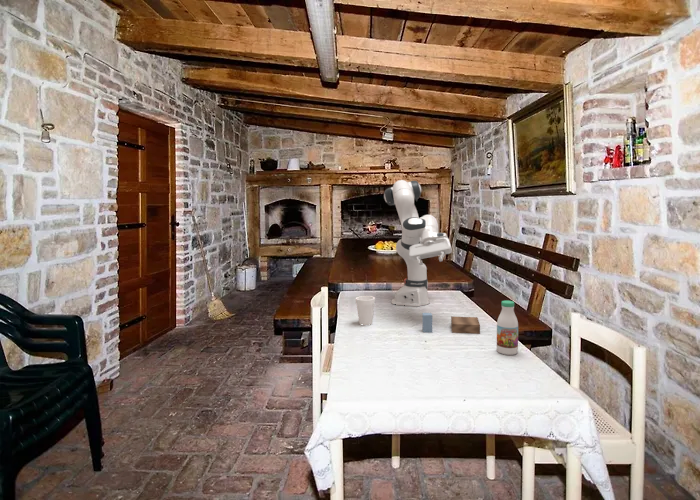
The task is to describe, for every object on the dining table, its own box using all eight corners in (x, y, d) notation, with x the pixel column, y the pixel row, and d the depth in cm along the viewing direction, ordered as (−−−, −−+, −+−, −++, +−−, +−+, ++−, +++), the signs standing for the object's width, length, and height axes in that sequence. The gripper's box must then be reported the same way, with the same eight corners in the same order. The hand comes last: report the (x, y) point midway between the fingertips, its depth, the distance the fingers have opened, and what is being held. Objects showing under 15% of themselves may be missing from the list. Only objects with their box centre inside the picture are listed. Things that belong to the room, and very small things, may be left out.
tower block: (422, 329, 179) (422, 312, 178) (431, 329, 179) (431, 312, 178) (423, 332, 175) (423, 315, 174) (432, 332, 175) (432, 315, 174)
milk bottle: (492, 348, 153) (493, 299, 151) (511, 347, 154) (512, 298, 152) (502, 356, 146) (503, 304, 143) (521, 354, 146) (522, 303, 144)
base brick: (452, 332, 174) (452, 324, 173) (451, 324, 185) (451, 316, 185) (479, 333, 171) (480, 325, 170) (477, 325, 183) (477, 317, 182)
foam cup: (377, 321, 193) (377, 296, 192) (372, 327, 185) (372, 300, 183) (359, 320, 196) (359, 295, 195) (353, 325, 188) (353, 299, 186)
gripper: (407, 241, 190) (407, 262, 181) (449, 232, 183) (450, 253, 174) (411, 249, 194) (411, 270, 185) (452, 241, 187) (454, 262, 178)
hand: (430, 262), depth 179 cm, fingers open, 8 cm apart
